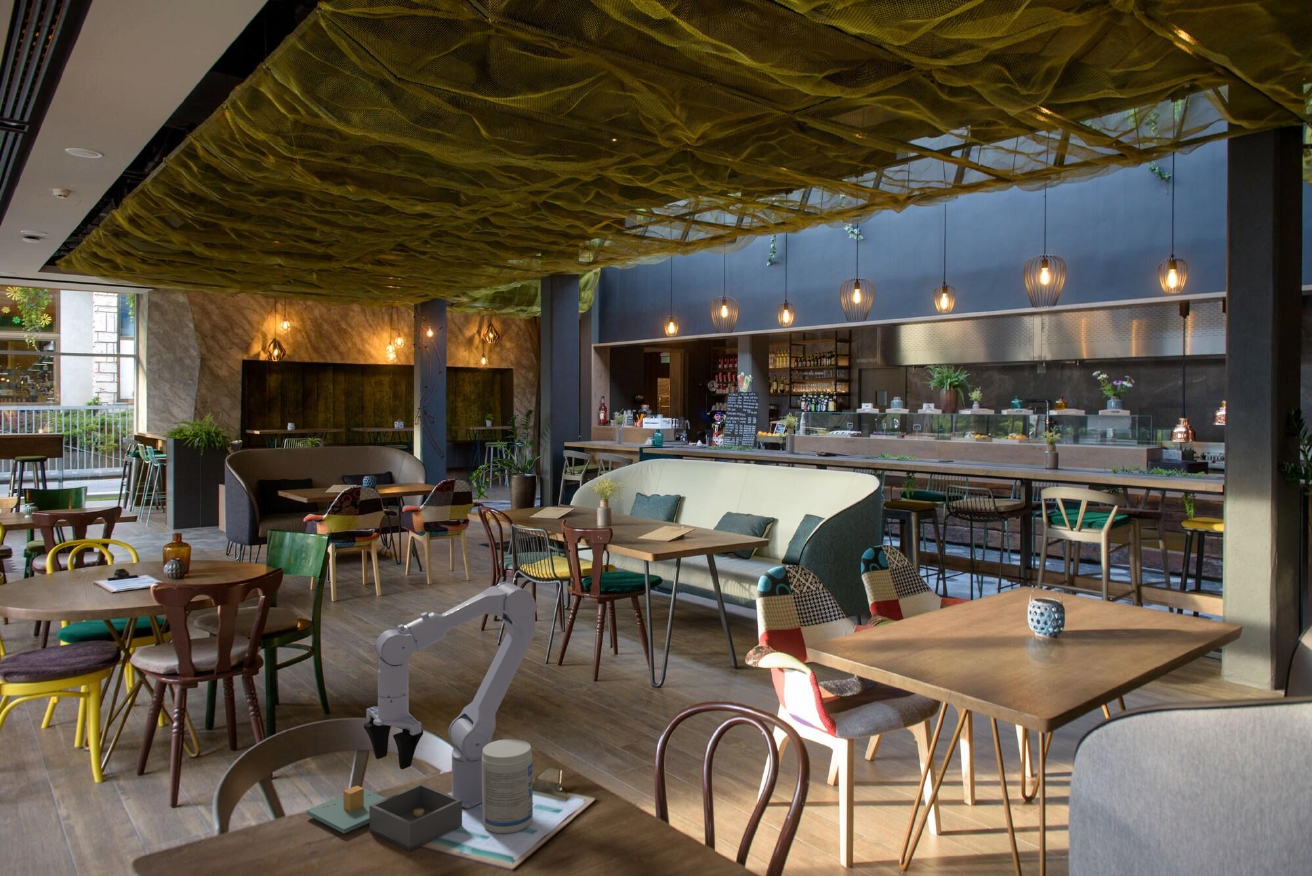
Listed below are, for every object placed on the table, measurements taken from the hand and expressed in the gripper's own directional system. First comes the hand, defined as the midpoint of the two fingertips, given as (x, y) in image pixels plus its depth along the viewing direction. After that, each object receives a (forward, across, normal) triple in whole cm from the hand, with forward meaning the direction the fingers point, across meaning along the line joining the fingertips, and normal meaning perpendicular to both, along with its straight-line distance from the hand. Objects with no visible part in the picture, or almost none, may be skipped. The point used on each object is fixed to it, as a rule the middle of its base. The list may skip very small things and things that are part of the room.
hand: (393, 762), depth 168 cm
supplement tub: (+11, +20, +11) cm, 25 cm away
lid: (+10, -6, -5) cm, 13 cm away
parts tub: (+10, +8, -1) cm, 13 cm away
